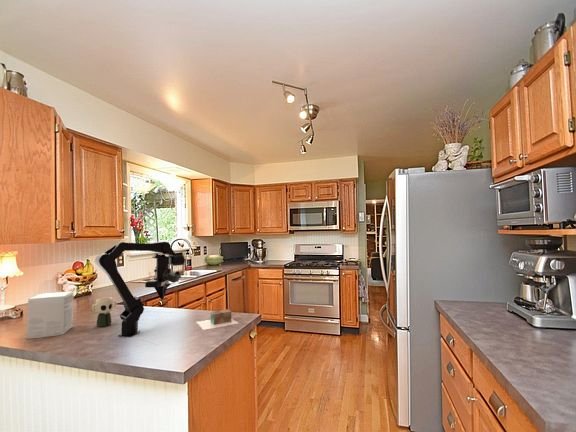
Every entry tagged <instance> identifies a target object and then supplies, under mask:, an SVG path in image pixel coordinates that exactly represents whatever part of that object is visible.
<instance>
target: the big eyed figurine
mask: <svg viewBox="0 0 576 432" xmlns="http://www.w3.org/2000/svg"><path fill="white" fill-rule="evenodd" d="M115 307H117V300H114V298H113V297H102V298H97V299H96V300H95V304H92V306H91V311H92V312H95V313H96V314H98V315H97V317H96V318H97V319H96V326H98V327H105V326H110V325H112V316H111V313H110V312H112V311H113V309H114V308H115Z"/></svg>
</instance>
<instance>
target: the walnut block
mask: <svg viewBox="0 0 576 432" xmlns="http://www.w3.org/2000/svg"><path fill="white" fill-rule="evenodd" d="M231 318H232V310H230V309H228V308H227V309H222V310H215V311H210V320H211V323H212V324H213V325H216V324H221V323H227V322H231Z"/></svg>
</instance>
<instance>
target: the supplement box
mask: <svg viewBox="0 0 576 432" xmlns="http://www.w3.org/2000/svg"><path fill="white" fill-rule="evenodd" d="M73 307H74V290H72V291H71V290H70V291H59V292H46V293H45V292H44V293H39V294H37V295H34V296H32V297H30V298H27V320H26V322H27V323H26V338H25V339H26V340H30V339H31V340H32V339H40V338H47V337H55V336H56V337H57V336H58V337H59V336H63V335H64V334H65V333H67V332H68V331H69V330H70V329H71V328H73V316H74V315H73V314H74V313H73V312H74V311H73V310H74V308H73Z"/></svg>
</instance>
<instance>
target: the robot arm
mask: <svg viewBox="0 0 576 432" xmlns="http://www.w3.org/2000/svg"><path fill="white" fill-rule="evenodd" d="M125 251H127V252H128V251H129V252H133V251H134V252H135V251H136V252H138V251H139V252H142V251H143V252H145V251H146V252H153V253H154V254H153V255H152V256H151V258H152V259H155V267H156V268H155V269H153V272H154V273H155V277H154V278H153V279H150V280H147V281H146V282H144V287H145V288H153V289H155V291H156V293H157V295H158V297H159V298H160V300H164V298H165V295H166V294H167V293H166V292H167V289H168V287H170V286H171V285H172V284H173V283H174V284H175V283H178V282H179V280H180V279H181V278H182V273H181V271H180V270H177V271H172V269H171V268H170V267H169V266H171V267H177V266H184V264H185V261H186V259H185V256H184V253H183V252H182V251H178V252H175V251H174V250H173V249H172V246H171V244H170V242H168V241H156V242H155V241H154V242H149V243H145V242H143V243H142V242H124V241H119V242H117V243H116V244H114V245H113V246H112V247H110V248H109V249H107V250H105V252H102V253H100V254H98V255H97V256H96V257H95V259H94V262H95V264H96V265H97V266H98V268H99V269H100V270H101V271H102V272H104V274H106V275H107V276H108V278H109V280H110V282H111V283H112V285H113V286H114V288H115V290H116V291H117V293H118V294H119V296H120V298H121V300H122V302H123V303H122V304H123V307H124V310H123V311H122V312H121V313H120V314H119V318H120V320H122V321H121V329H120V330H121V333H119V334H117V336H118V337H133V336H135V335H137V334H139V333H141V330H138V329H139V328H138V326H139V320H140V318H141V315H142V314H143V313H144V310H145V308H144V306H145V304H144V303H143V302H142V300H141V298H140V297H138V296H134V295H133V294H132V292H131V291H130V289H129V287H128V285H127V284H126V282H125V280H124V279H123V278H122V275H121V273H120V272H119V271H118V265H117V262H116V260H117V259H118V258H119V257H120V256H121V255H122V254H123V253H124V252H125ZM170 282H171V283H170Z"/></svg>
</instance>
